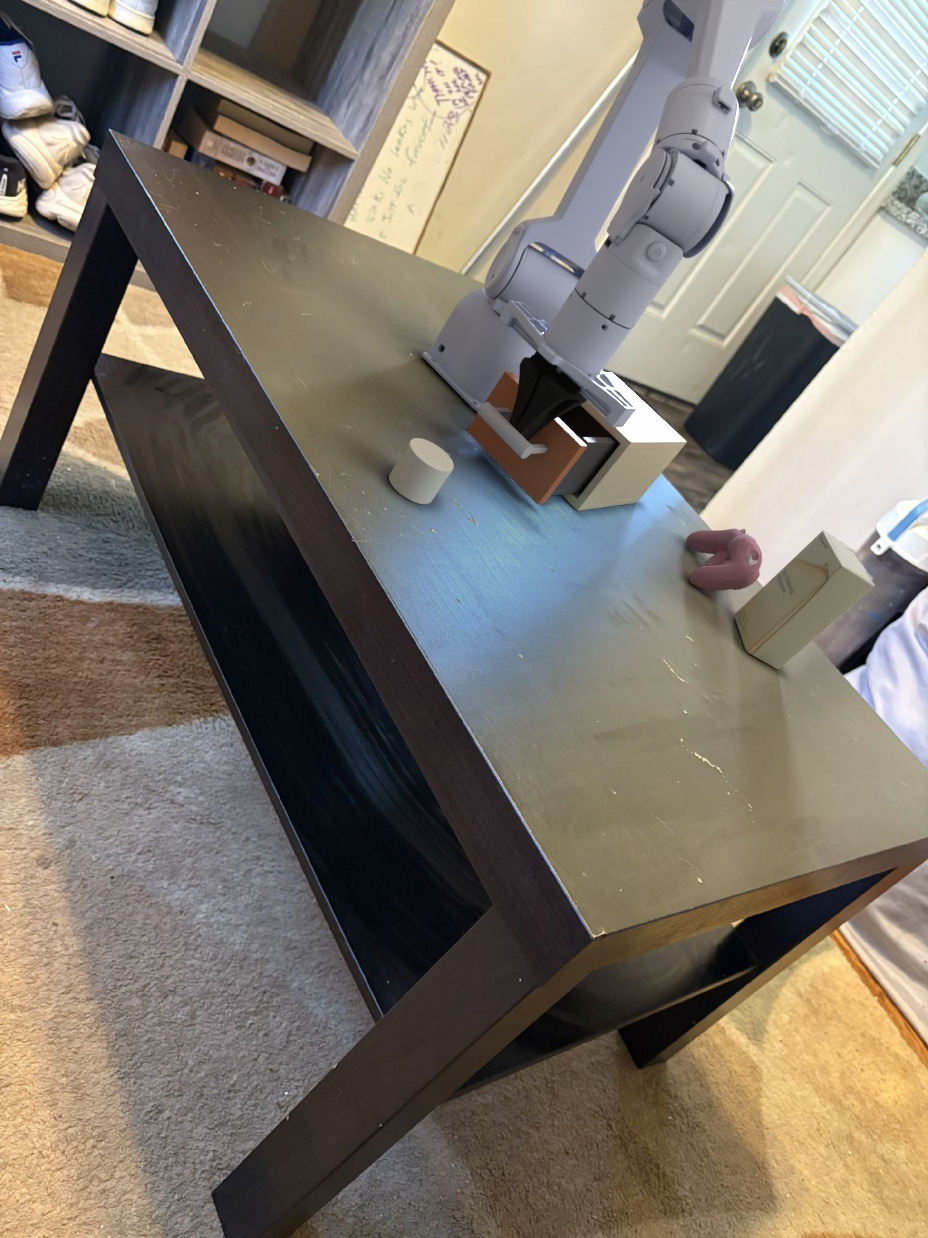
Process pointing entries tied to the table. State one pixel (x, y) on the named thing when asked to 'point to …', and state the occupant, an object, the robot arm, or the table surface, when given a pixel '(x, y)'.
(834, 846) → the table surface
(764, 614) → the cosmetic box
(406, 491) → the cylinder
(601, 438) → the pod drawer
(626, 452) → the mini drawer cabinet
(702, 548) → the pink curved piece
